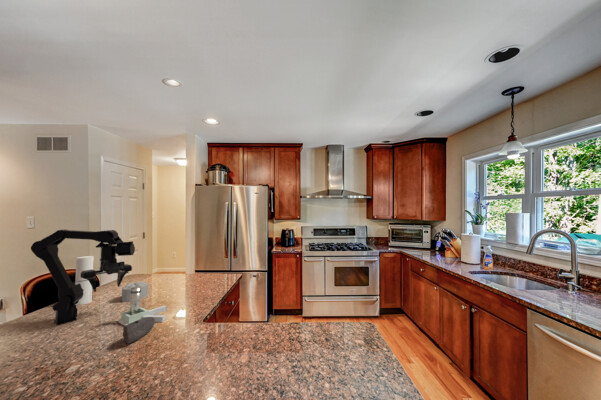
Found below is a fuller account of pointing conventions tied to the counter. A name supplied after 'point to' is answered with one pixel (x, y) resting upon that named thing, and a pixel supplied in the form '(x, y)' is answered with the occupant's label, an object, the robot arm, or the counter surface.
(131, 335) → the perforated stone tool
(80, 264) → the cylindrical container
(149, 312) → the shaft rig
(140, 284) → the lumpy-topped squat cylinder
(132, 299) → the shiny grey metal cylinder
